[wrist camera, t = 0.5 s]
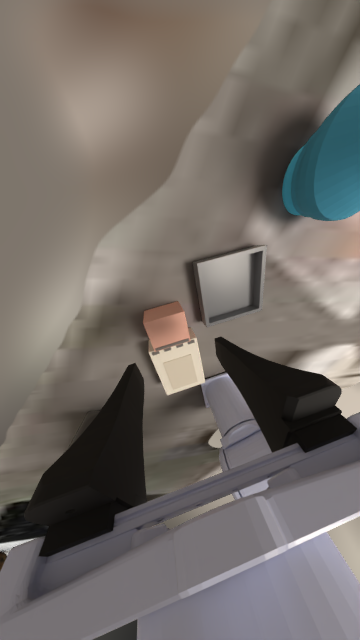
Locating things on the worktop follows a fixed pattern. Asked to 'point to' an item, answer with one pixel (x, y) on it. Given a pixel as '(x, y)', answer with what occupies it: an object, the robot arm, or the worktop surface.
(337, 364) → the worktop surface
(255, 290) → the tray
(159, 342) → the stub
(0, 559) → the sculpture
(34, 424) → the worktop surface
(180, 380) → the block
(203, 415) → the worktop surface
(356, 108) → the perfume bottle
